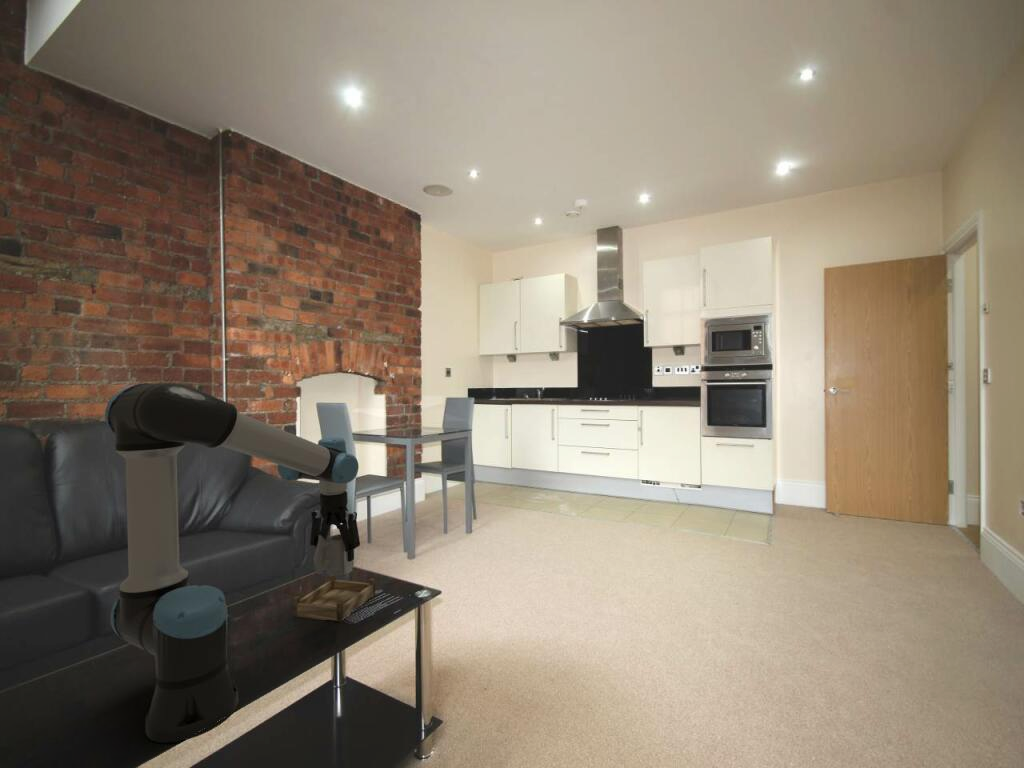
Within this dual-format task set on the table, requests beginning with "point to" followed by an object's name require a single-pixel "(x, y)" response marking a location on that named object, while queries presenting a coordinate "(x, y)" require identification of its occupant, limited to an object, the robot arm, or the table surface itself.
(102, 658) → the table surface
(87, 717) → the table surface
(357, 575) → the table surface
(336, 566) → the mug
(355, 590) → the wooden tray
